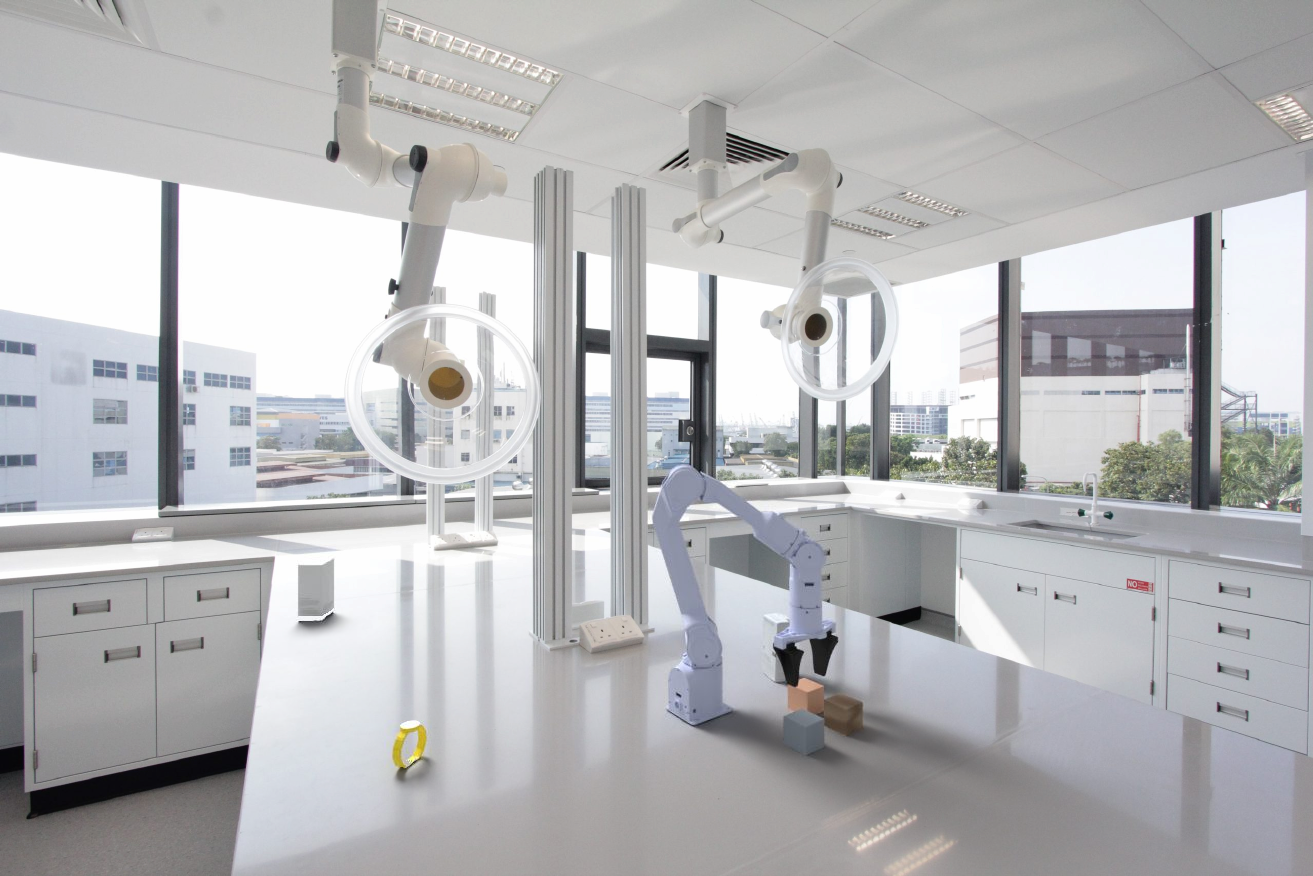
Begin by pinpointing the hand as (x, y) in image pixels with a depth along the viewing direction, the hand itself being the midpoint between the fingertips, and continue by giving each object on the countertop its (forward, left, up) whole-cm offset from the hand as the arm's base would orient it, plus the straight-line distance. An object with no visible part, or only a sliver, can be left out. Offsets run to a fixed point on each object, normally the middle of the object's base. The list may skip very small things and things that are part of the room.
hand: (806, 679), depth 108 cm
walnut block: (0, -8, -6) cm, 10 cm away
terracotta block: (0, 0, -6) cm, 6 cm away
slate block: (-10, -8, -6) cm, 14 cm away
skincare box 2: (+7, +13, -6) cm, 16 cm away
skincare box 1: (-64, +115, -6) cm, 132 cm away
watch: (-62, +24, -6) cm, 67 cm away
